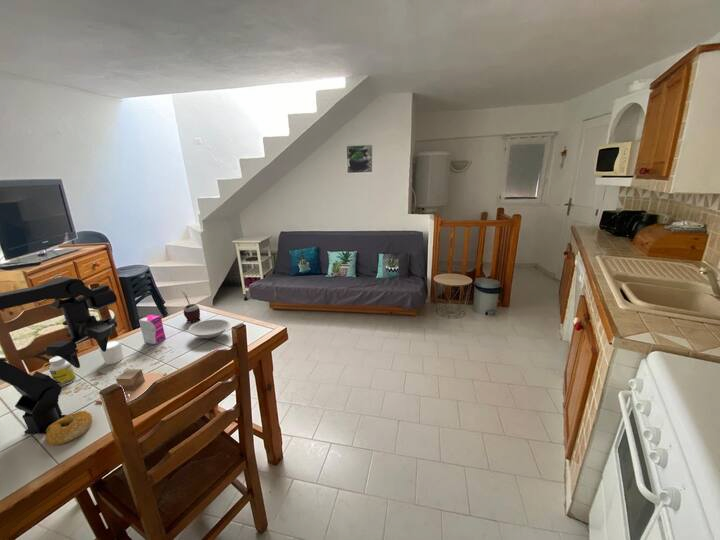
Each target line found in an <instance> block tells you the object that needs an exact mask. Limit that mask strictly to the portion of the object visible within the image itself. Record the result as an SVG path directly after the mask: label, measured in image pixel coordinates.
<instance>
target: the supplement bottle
mask: <svg viewBox="0 0 720 540" xmlns="http://www.w3.org/2000/svg"><path fill="white" fill-rule="evenodd" d="M48 362H49V365H50V366H49V368H48V370H49V373H50V374H51V378H52V379H54V380H57V381H60V383H58V384H59V385H60V386H61V387H62V386H63V385H64V386H66V384H67V385H70V384H71V383H73V382H74V381H76V374H75V371H74V368H73V365H71V364H70V363H69V362H67V361H66V360H65V359H63V358H61V357H59V356H52V357H51V358H50V359H49V360H48ZM72 381H73V382H72Z"/></svg>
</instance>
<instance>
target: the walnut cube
mask: <svg viewBox="0 0 720 540" xmlns="http://www.w3.org/2000/svg"><path fill="white" fill-rule="evenodd" d="M143 373H144V372H143V369H141V368H140V369H139V368H137V369H136V368H135V369H134V368H131V369H129V368H128V369H126V370H124V372H122V373H121V374H119V376H117V377H116V378H115V381H116V383H117V384H119V385H121V386H122V387H123V389H124V391H135V390H136V389H137V388H138V387H139V386H140V385H142V384H143V383H144V382H145V380H144V376H143Z"/></svg>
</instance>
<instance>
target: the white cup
mask: <svg viewBox="0 0 720 540" xmlns="http://www.w3.org/2000/svg"><path fill="white" fill-rule="evenodd" d="M98 350H99V352H100V354H101V356H102V358H103V361H104V362H105V364H106V365H113V364H112V363H114V364H116V362H117V363H119V362H120V360H121V361H122V360H123V359H124V353H123V347H122V342H121V340H119V339H118V340H117V339H114V340H108V342H107V349H106V351H105V352H104V351H102V350H101V349H100V347H99V346H98Z"/></svg>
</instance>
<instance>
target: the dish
mask: <svg viewBox="0 0 720 540" xmlns="http://www.w3.org/2000/svg"><path fill="white" fill-rule="evenodd" d="M230 326H231V324H230V322H229V320H226V319H221V318H212V319H205V320H200V321H197V322H195V323H192V324H191V325H190V326H189V327H188V330H187V331H188V333H189V334H190V335H193V336H196V337H198V338H202V339H210V338H215V337H218V336H220V335H222V334H223V333H224V332H225V331H226V330H227V329H228V328H229V327H230Z"/></svg>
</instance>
